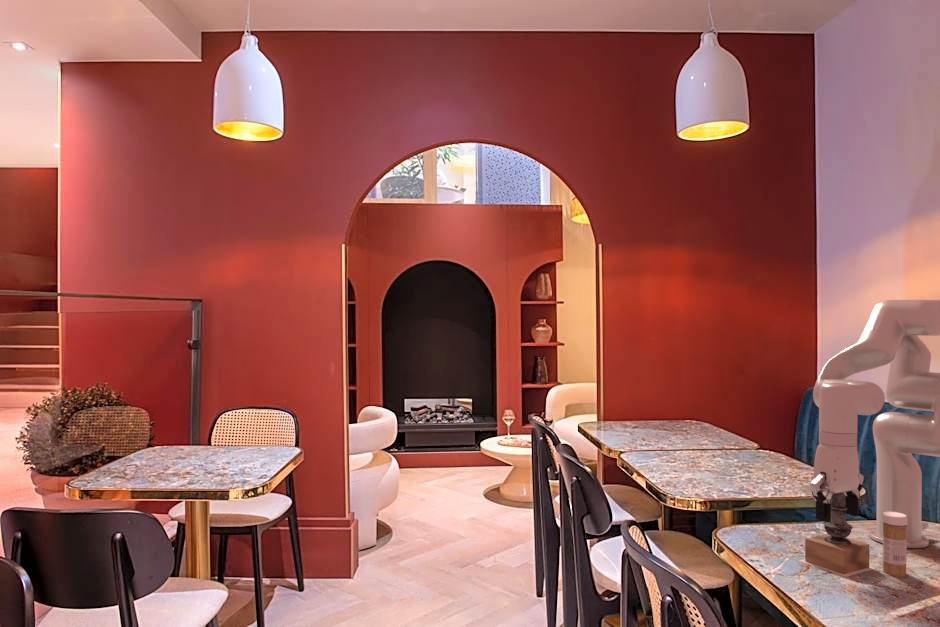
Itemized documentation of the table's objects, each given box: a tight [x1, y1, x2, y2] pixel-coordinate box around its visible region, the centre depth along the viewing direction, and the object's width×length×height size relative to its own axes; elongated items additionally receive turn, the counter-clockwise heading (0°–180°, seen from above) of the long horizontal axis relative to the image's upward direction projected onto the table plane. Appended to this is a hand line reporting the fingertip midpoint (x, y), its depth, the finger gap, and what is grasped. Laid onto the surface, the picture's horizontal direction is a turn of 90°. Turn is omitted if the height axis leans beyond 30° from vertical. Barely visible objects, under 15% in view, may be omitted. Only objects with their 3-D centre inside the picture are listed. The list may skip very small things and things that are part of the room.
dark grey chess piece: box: [822, 492, 854, 545], centre depth 155 cm, size 6×6×12 cm
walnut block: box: [804, 533, 870, 574], centre depth 155 cm, size 9×9×5 cm
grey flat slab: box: [798, 558, 877, 578], centre depth 155 cm, size 16×12×1 cm
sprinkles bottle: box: [882, 512, 908, 578], centre depth 150 cm, size 5×5×13 cm
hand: (837, 517), depth 155 cm, fingers open, 9 cm apart
